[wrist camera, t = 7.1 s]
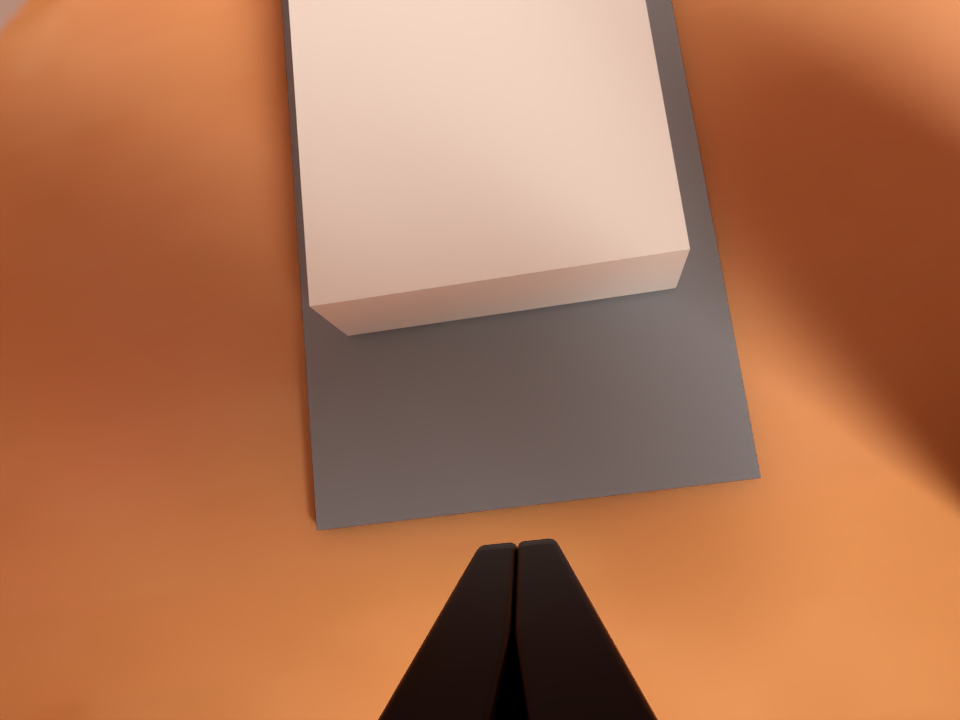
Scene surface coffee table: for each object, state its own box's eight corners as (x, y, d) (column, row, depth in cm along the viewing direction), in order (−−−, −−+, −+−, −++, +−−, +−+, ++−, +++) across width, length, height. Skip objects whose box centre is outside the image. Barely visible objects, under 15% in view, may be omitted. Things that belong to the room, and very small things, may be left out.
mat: (757, 478, 16) (761, 477, 15) (321, 530, 17) (317, 530, 16) (646, -115, 19) (647, -125, 18) (282, -42, 20) (278, -50, 19)
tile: (689, 249, 14) (607, -213, 16) (309, 306, 15) (279, -142, 17) (675, 289, 16) (605, -117, 19) (349, 337, 17) (317, -58, 19)
